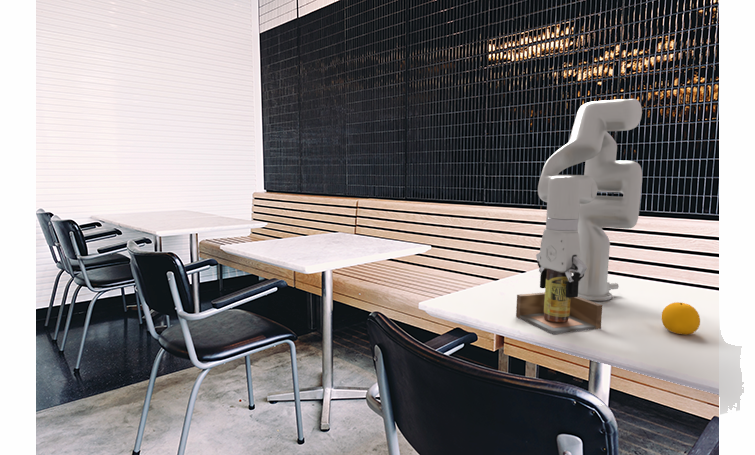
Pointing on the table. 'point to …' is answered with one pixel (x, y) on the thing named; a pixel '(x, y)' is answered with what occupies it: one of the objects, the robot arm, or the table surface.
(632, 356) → the table surface
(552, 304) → the sauce bottle
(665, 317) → the mandarin orange
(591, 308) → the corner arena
